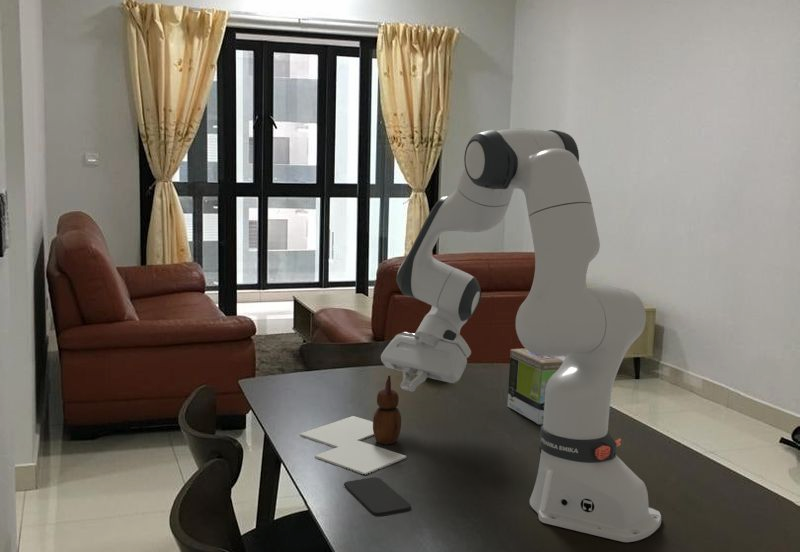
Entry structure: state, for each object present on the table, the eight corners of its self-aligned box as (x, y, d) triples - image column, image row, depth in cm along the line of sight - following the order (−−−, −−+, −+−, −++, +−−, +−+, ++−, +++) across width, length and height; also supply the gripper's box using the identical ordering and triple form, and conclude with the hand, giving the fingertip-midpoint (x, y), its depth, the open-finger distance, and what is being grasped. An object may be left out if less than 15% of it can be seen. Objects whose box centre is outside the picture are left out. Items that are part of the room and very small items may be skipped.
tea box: (575, 422, 198) (579, 360, 195) (537, 426, 194) (541, 362, 192) (541, 403, 211) (544, 345, 209) (505, 406, 208) (508, 347, 205)
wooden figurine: (396, 448, 177) (398, 378, 174) (369, 445, 178) (371, 376, 176) (403, 437, 183) (405, 370, 181) (377, 435, 184) (378, 368, 182)
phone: (378, 476, 161) (413, 506, 147) (378, 480, 161) (413, 511, 147) (341, 482, 157) (374, 513, 144) (341, 486, 157) (374, 518, 144)
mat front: (391, 428, 189) (391, 427, 189) (338, 448, 176) (338, 446, 176) (353, 417, 196) (353, 415, 196) (299, 435, 183) (299, 433, 183)
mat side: (406, 457, 172) (406, 455, 171) (365, 475, 162) (365, 473, 162) (356, 441, 180) (356, 440, 180) (314, 457, 170) (314, 455, 170)
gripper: (393, 322, 194) (363, 372, 188) (466, 336, 181) (437, 390, 175) (404, 338, 198) (376, 387, 192) (477, 353, 185) (449, 406, 179)
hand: (406, 389), depth 184 cm, fingers closed
